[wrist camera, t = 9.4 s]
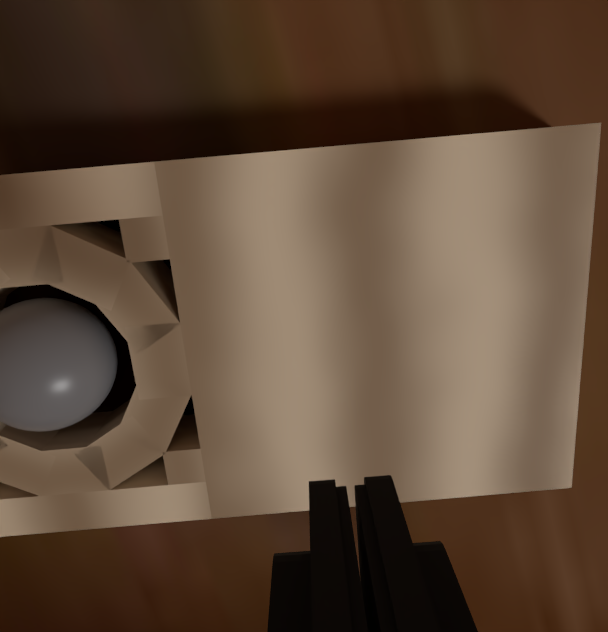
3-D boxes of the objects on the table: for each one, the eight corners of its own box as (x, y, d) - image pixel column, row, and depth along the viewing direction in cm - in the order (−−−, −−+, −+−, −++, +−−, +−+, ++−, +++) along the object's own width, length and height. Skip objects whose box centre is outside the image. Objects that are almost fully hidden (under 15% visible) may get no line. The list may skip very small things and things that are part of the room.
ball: (-61, 371, 15) (-72, 334, 19) (38, 482, 17) (11, 429, 21) (91, 282, 17) (54, 265, 21) (160, 391, 19) (115, 359, 23)
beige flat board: (555, 129, 19) (601, 122, 16) (537, 448, 23) (571, 487, 21) (-167, 192, 19) (-247, 196, 17) (-62, 499, 23) (-111, 546, 21)
